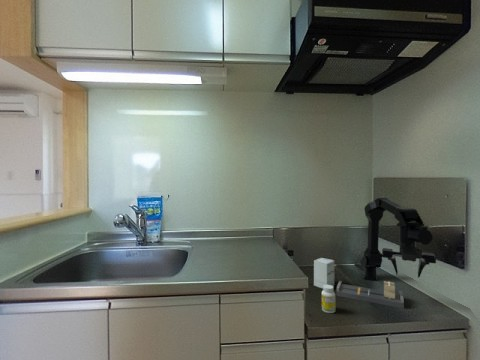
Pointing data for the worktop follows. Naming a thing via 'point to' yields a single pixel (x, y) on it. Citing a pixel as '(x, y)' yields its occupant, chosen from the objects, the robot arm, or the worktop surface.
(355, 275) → the worktop surface
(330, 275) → the supplement box
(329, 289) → the supplement bottle
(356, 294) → the fader console
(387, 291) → the fader knob
